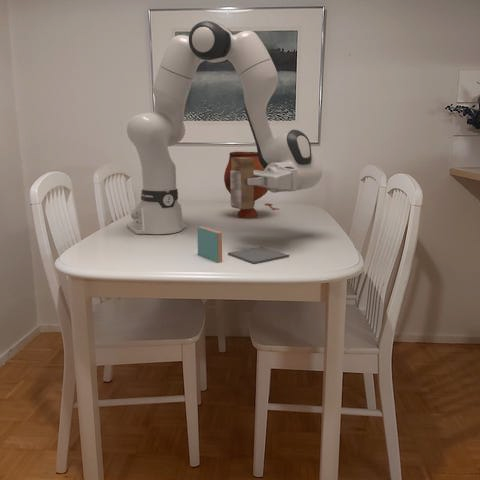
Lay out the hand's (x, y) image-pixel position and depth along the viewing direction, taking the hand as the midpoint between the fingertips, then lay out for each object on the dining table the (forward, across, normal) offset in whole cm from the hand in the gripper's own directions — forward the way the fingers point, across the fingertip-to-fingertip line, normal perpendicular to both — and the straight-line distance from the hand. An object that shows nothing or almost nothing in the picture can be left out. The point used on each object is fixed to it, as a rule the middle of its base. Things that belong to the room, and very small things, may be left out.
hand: (239, 180), depth 139 cm
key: (-56, -52, +21) cm, 79 cm away
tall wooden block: (-1, 0, +8) cm, 8 cm away
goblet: (-34, -41, +20) cm, 57 cm away
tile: (+12, +3, +20) cm, 24 cm away
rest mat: (0, +9, +20) cm, 22 cm away
